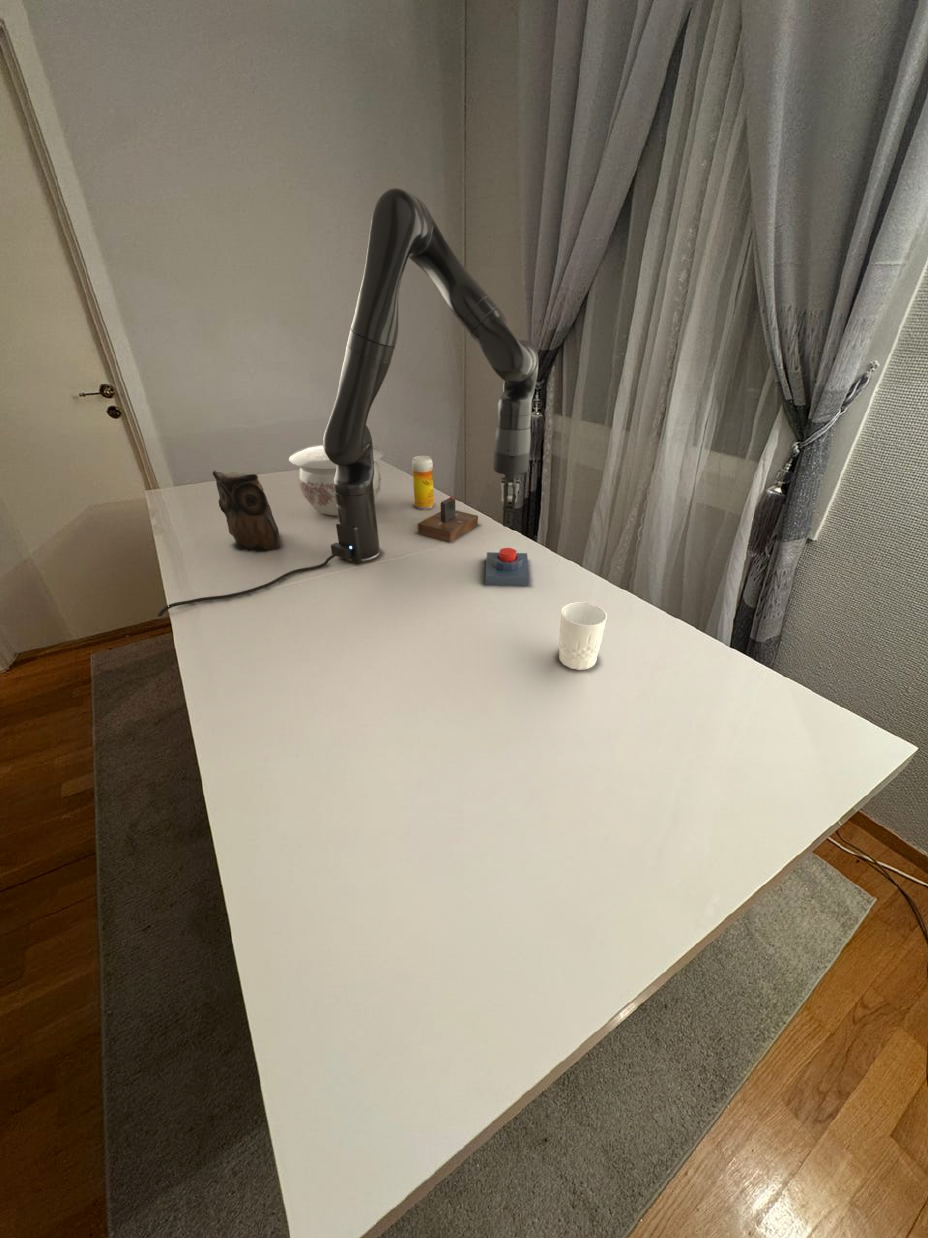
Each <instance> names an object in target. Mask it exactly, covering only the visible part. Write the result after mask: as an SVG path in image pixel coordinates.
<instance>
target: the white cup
mask: <svg viewBox="0 0 928 1238" xmlns="http://www.w3.org/2000/svg"><path fill="white" fill-rule="evenodd" d="M607 619H608V614H607V612H606V611H605V610H604V609H603V608H602V607H600V606H599V605H597V604H594V603H591V602H587V601H586V602H584V601H575V602H570V603H567V604H565V605H563V607H562V608H561V610H560V619H559V643H558V646H559V650H558V651H559V652H558V657H559V661H560V662H561V663H562V665H564V666H565V667H567V668H569V669H572V670H577V671H582V670H583V671H584V670H588V669H591V668H592V667H594V666H595V664H596V663H597V659H598V655H599V652H600V650H601V649H600V648H601V644H602V641H603V636H604V632H605V627H606V623H607Z"/></svg>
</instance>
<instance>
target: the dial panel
mask: <svg viewBox="0 0 928 1238" xmlns="http://www.w3.org/2000/svg"><path fill="white" fill-rule="evenodd" d="M455 513H456V517H455V518H453V519H451V520H449V521H447V522H441V510H440V511H438V512H437V513H435V514H433V515H431V516H429V517H427V518H425V519H423V520H421V521H420V522H418V523H417V533H418V534H419V535H422V536H426V537H430V538H434V539H438V540H441V541H444V542H448V543H451V542H453V541H455V540H457V539H458V538H459V537H461V536H464V534H466V533H468V532H470V531H471V530H473V529H474V528H476V527H478V526H479V515H477V514H472V513H469V512H464V511H460V510H456V509H455Z"/></svg>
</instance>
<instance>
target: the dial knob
mask: <svg viewBox="0 0 928 1238" xmlns="http://www.w3.org/2000/svg"><path fill="white" fill-rule="evenodd" d="M455 510H456V498H455V496H449V497H448V498H446V499H445V500H442V501H440V511H441V522H447V521H449V520H451V519H453V518H455V517H456V513H455Z"/></svg>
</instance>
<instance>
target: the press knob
mask: <svg viewBox="0 0 928 1238" xmlns="http://www.w3.org/2000/svg"><path fill="white" fill-rule="evenodd" d="M498 552H499V560H500V561H504V562H512V561H515V560H516V553H517V550H516V549H514V548H512V547H502V548H500V549H499V551H498Z"/></svg>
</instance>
